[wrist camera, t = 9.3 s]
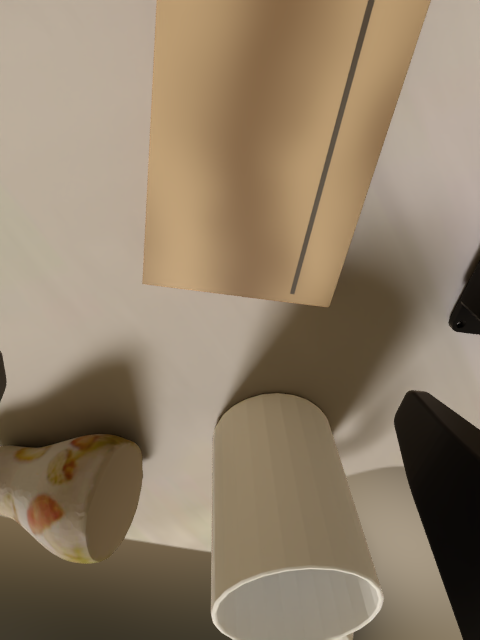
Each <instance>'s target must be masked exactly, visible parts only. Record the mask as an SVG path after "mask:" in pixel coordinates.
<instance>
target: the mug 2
mask: <svg viewBox="0 0 480 640" xmlns="http://www.w3.org/2000/svg"><path fill="white" fill-rule="evenodd" d="M211 561H212V562H211V615H212V620H213V623H214V625H215V626H216V627H217V628H218V629H219V630H220V631H221V632H222V633H223V634H225V635H227V636H228V637H230V638H232V639H233V640H353V632H354V631H356V630H359V629H360V628H362V627H363V626H364V625H366V624H367V623H369V622H370V621H372V619H373V618H374V617H375V616H376V615H377V613H378V612H379V611H380V609H381V607H382V604H383V600H384V596H383V593H382V590H381V587H380V584H379V580H378V577H377V574H376V571H375V568H374V564H373V562H372V558H371V555H370V552H369V549H368V545H367V542H366V539H365V536H364V533H363V530H362V527H361V523H360V520H359V517H358V514H357V511H356V508H355V504H354V502H353V498H352V495H351V492H350V488H349V486H348V482H347V479H346V476H345V473H344V469H343V466H342V463H341V460H340V457H339V454H338V450H337V447H336V444H335V441H334V438H333V435H332V431H331V428H330V425H329V422H328V419H327V417H326V416H325V415H324V413H323V412H322V411H321V410H320V408H318V407H317V406H316V405H314V404H313V403H311V402H310V401H308V400H307V399H304V398H301V397H298V396H295V395H290V394H282V393H273V394H262V395H258V396H255V397H251V398H248V399H245V400H243V401H242V402H240V403H238V404H236V405H234V406H233V407H231V408H230V409H229V410H228V411H227V412H226V413H225V414H224V415H223V416H222V418H221V419H220V421H219V422H218V424H217V425H216V427H215V430H214V435H213V447H212V560H211Z"/></svg>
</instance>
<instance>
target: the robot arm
mask: <svg viewBox="0 0 480 640" xmlns="http://www.w3.org/2000/svg"><path fill="white" fill-rule="evenodd" d="M459 321H461V322H460V323H459V324H457V323H458V322H459ZM449 326H450V327H451V328H452V329H453V330H454V331H456V332H463V333H471V334H479V335H480V261H479V263H478V265H477V267H476V269H475V271H474V273H473V275H472V277H471V279H470V281H469V283H468V285H467V286H466V288H465V290H464V292H463V294H462V296H461V298H460V300H459V302H458V304H457V306H456V308H455V310H454V312H453V314H452V315H451V317H450V319H449ZM5 388H6V374H5V368H4V362H3V356H2V353H1V351H0V401H1V399H2V396H3V394H4V391H5ZM394 425H395V430H396V434H397V438H398V442H399V447H400V451H401V455H402V459H403V463H404V467H405V471H406V476H407V479H408V483H409V486H410V489H411V492H412V495H413V498H414V501H415V504H416V507H417V510H418V512H419V515H420V518H421V521H422V524H423V527H424V529H425V532H426V535H427V538H428V541H429V544H430V547H431V550H432V552H433V555H434V558H435V561H436V564H437V566H438V569H439V572H440V575H441V578H442V581H443V584H444V586H445V589H446V592H447V595H448V598H449V600H450V603H451V606H452V609H453V612H454V615H455V618H456V620H457V623H458V626H459V629H460V632H461V635H462V638H463V640H480V430H479V429H478V428H476V427H475V426H474V425H472V424H471V423H469V422H468V421H467V420H465V419H464V418H462V417H461V416H460V415H458V414H457V413H456V412H454V411H453V410H451V409H450V408H449V407H447V406H446V405H444V404H443V403H442V402H440V401H439V400H437V399H436V398H435V397H433V396H432V395H431V394H429V393H427V392H424V391H414V390H411V391H408V392H407V393H406V395H405V397H404V398H403V400H402V402H401V404H400V406H399V408H398V410H397V412H396V414H395V418H394Z"/></svg>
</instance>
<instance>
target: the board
mask: <svg viewBox="0 0 480 640" xmlns="http://www.w3.org/2000/svg"><path fill="white" fill-rule="evenodd" d="M430 1H431V0H157V6H156V26H155V46H154V65H153V85H152V105H151V125H150V145H149V164H148V184H147V204H146V224H145V243H144V263H143V283H142V284H147V285H155V286H163V287H171V288H179V289H187V290H195V291H203V292H210V293H218V294H226V295H234V296H242V297H250V298H258V299H266V300H273V301H281V302H289V303H297V304H305V305H313V306H321V307H329V306H330V303H331V300H332V297H333V294H334V291H335V288H336V285H337V282H338V279H339V276H340V273H341V270H342V267H343V264H344V261H345V258H346V255H347V252H348V249H349V246H350V243H351V240H352V237H353V234H354V231H355V228H356V225H357V222H358V219H359V216H360V213H361V210H362V207H363V204H364V201H365V198H366V195H367V192H368V189H369V186H370V182H371V179H372V176H373V173H374V170H375V167H376V164H377V161H378V158H379V155H380V152H381V149H382V146H383V143H384V140H385V137H386V134H387V131H388V128H389V125H390V122H391V119H392V116H393V113H394V110H395V107H396V104H397V101H398V98H399V95H400V92H401V89H402V86H403V83H404V80H405V77H406V74H407V71H408V68H409V65H410V62H411V59H412V56H413V53H414V49H415V46H416V43H417V40H418V37H419V34H420V31H421V28H422V25H423V22H424V19H425V16H426V13H427V10H428V7H429V4H430Z"/></svg>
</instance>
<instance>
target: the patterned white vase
mask: <svg viewBox="0 0 480 640" xmlns="http://www.w3.org/2000/svg"><path fill="white" fill-rule="evenodd" d="M142 478H143V471H142V453H141V450H140V448H139V447H138V445H137V444H135V442H132V441H130V440H127V439H125V438H122V437H119V436H116V435H110V434H92V435H86V436H81V437H77V438H73V439H70V440H67V441H63V442H60V443H56V444H53V445H49V446H45V447H39V448H30V447H20V446H12V445H5V446H1V447H0V515H3V516H7V517H10V518H12V519H14V520H15V521H17V522H18V523H19V524H20V525H21V526H22V527H23V528H24V529H25V530H27V531H28V532H29V533H30V534H31V535H32V536H33V537H34V538H35V539H36V540H37V541H38V542H39V543H40V544H42V545H43V546H44V547H45V548H46V549H48V550H49V551H50V552H52V553H53V554H55V555H56V556H58V557H60V558H62V559H65V560H67V561H71V562H75V563H97V562H101V561H103V560H105V559H107V558H108V557H110V556H111V555H112V554H113V553H114V552H115V551H116V550H117V549H118V547H119V546H120V544H121V543H122V541H123V539H124V538H125V536H126V533H127V531H128V529H129V527H130V525H131V523H132V520H133V517H134V515H135V512H136V509H137V506H138V501H139V496H140V491H141V486H142Z"/></svg>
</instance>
